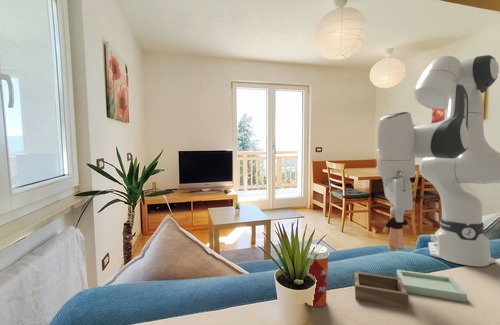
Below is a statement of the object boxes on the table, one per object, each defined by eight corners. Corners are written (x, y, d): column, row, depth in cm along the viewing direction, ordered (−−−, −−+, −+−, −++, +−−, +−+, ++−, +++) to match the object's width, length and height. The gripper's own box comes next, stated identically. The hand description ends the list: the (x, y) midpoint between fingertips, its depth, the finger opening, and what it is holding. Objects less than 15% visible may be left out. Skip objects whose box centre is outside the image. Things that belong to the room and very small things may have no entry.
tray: (396, 275, 76) (396, 269, 76) (451, 283, 71) (451, 276, 71) (403, 291, 67) (403, 284, 67) (466, 302, 62) (466, 294, 62)
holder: (354, 283, 72) (354, 271, 72) (400, 290, 68) (400, 278, 68) (355, 299, 64) (355, 286, 64) (408, 308, 59) (408, 294, 59)
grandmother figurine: (392, 254, 66) (392, 211, 64) (381, 247, 70) (380, 206, 67) (413, 247, 68) (414, 205, 66) (401, 241, 72) (401, 201, 70)
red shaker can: (332, 311, 59) (331, 254, 59) (300, 308, 60) (299, 252, 60) (328, 294, 67) (327, 243, 67) (300, 291, 68) (299, 242, 68)
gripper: (419, 172, 56) (421, 231, 56) (401, 168, 75) (403, 212, 75) (389, 173, 59) (390, 229, 59) (379, 168, 78) (380, 211, 78)
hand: (397, 219), depth 67 cm, fingers closed on grandmother figurine, 3 cm apart
